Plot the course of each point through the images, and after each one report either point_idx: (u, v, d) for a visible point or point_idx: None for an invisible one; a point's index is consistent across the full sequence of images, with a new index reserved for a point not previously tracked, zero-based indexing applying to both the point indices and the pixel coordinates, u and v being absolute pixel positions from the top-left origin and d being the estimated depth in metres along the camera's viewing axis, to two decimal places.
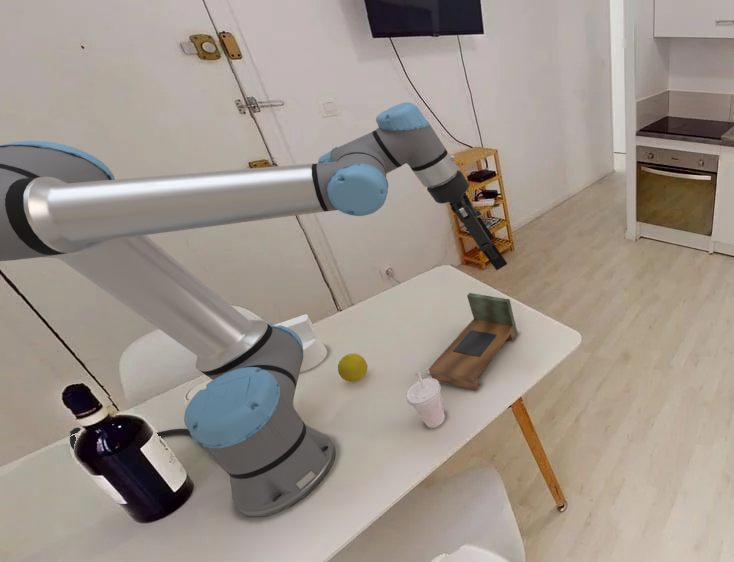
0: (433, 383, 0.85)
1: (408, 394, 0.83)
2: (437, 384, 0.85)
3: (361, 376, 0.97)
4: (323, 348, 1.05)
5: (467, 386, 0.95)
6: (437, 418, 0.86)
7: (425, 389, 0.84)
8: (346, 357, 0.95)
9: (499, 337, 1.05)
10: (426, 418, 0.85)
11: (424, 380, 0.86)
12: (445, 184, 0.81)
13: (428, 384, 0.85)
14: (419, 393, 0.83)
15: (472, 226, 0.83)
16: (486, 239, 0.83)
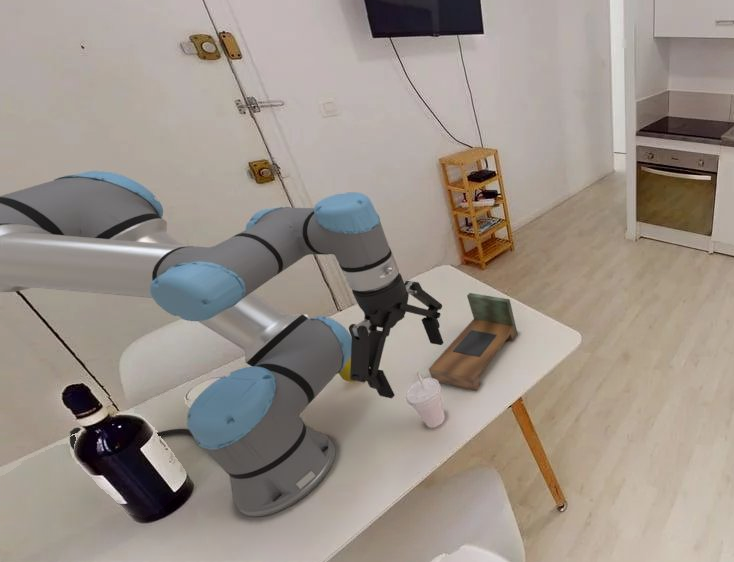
0: (433, 383, 0.85)
1: (408, 394, 0.83)
2: (437, 384, 0.85)
3: None
4: None
5: (467, 386, 0.95)
6: (437, 418, 0.86)
7: (425, 389, 0.84)
8: None
9: (499, 337, 1.05)
10: (426, 418, 0.85)
11: (424, 380, 0.86)
12: (361, 293, 0.68)
13: (428, 384, 0.85)
14: (419, 393, 0.83)
15: (357, 350, 0.68)
16: (360, 372, 0.68)
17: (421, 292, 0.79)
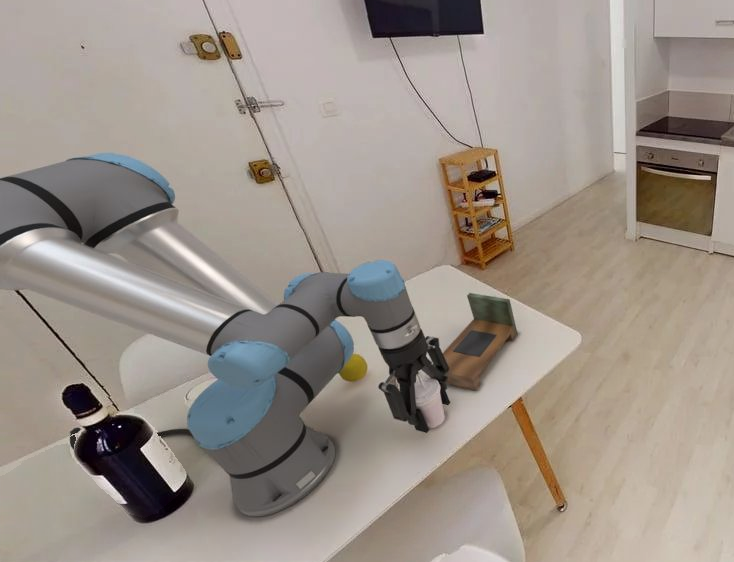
0: (433, 383, 0.85)
1: None
2: (437, 384, 0.85)
3: (361, 376, 0.97)
4: None
5: (467, 386, 0.95)
6: (437, 418, 0.86)
7: (425, 389, 0.84)
8: None
9: (499, 337, 1.05)
10: (426, 418, 0.85)
11: (424, 380, 0.86)
12: (387, 350, 0.74)
13: (428, 384, 0.85)
14: (419, 393, 0.83)
15: (392, 401, 0.76)
16: (400, 416, 0.78)
17: (437, 349, 0.85)
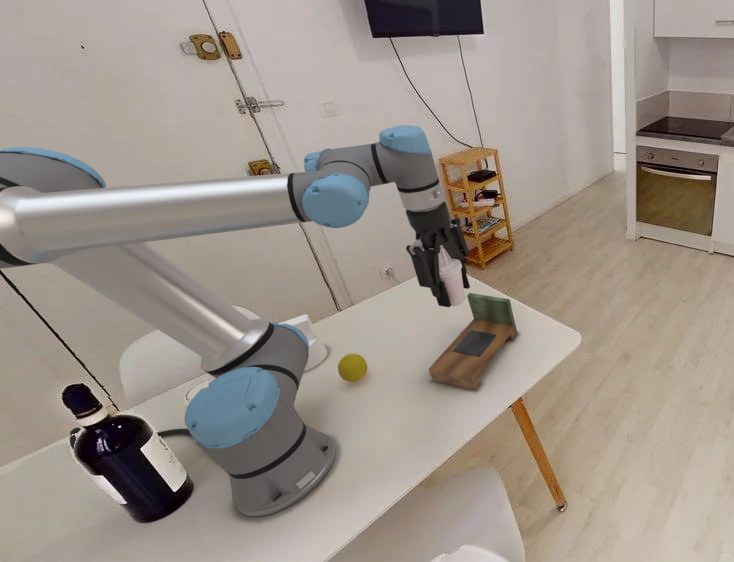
0: (455, 261, 0.90)
1: None
2: (459, 262, 0.90)
3: (361, 376, 0.97)
4: (323, 348, 1.05)
5: (467, 386, 0.95)
6: (458, 296, 0.91)
7: (448, 265, 0.89)
8: (346, 357, 0.95)
9: (499, 337, 1.05)
10: (449, 294, 0.90)
11: (446, 260, 0.91)
12: (414, 213, 0.79)
13: (450, 262, 0.90)
14: (442, 268, 0.88)
15: (418, 265, 0.81)
16: (426, 281, 0.83)
17: (459, 229, 0.90)
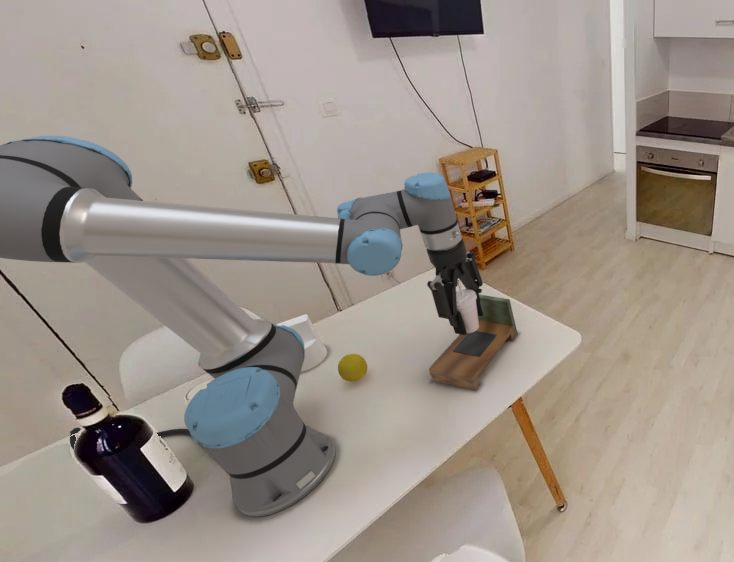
0: (470, 292, 0.97)
1: None
2: (474, 293, 0.97)
3: (361, 376, 0.97)
4: (323, 348, 1.05)
5: (467, 386, 0.95)
6: (473, 324, 0.98)
7: (464, 296, 0.96)
8: (346, 357, 0.95)
9: (499, 337, 1.05)
10: (464, 322, 0.97)
11: None
12: (434, 252, 0.86)
13: (466, 293, 0.97)
14: (459, 299, 0.95)
15: (438, 298, 0.88)
16: (445, 313, 0.90)
17: (473, 262, 0.97)
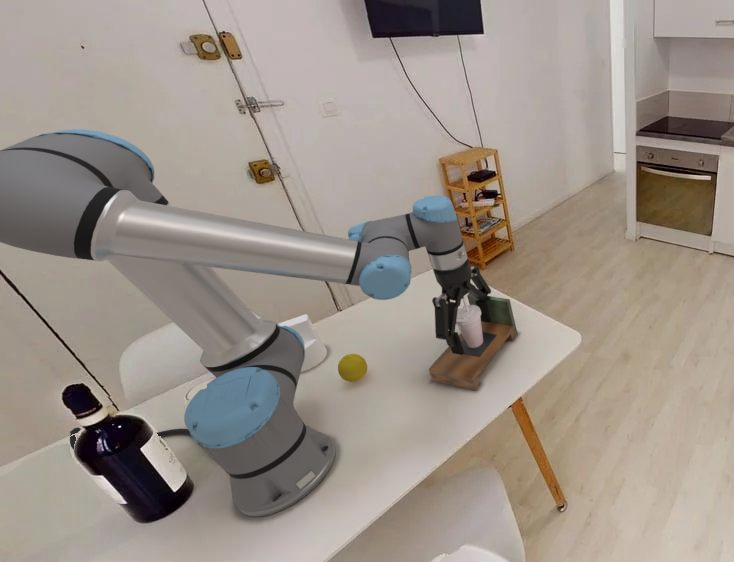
0: (475, 308, 1.00)
1: None
2: (478, 309, 0.99)
3: (361, 376, 0.97)
4: (323, 348, 1.05)
5: (467, 386, 0.95)
6: (478, 339, 1.01)
7: (469, 312, 0.98)
8: (346, 357, 0.95)
9: (499, 337, 1.05)
10: (469, 338, 0.99)
11: (467, 306, 1.00)
12: (441, 272, 0.88)
13: (471, 309, 0.99)
14: (464, 315, 0.97)
15: (439, 316, 0.89)
16: (443, 333, 0.90)
17: (479, 276, 1.00)
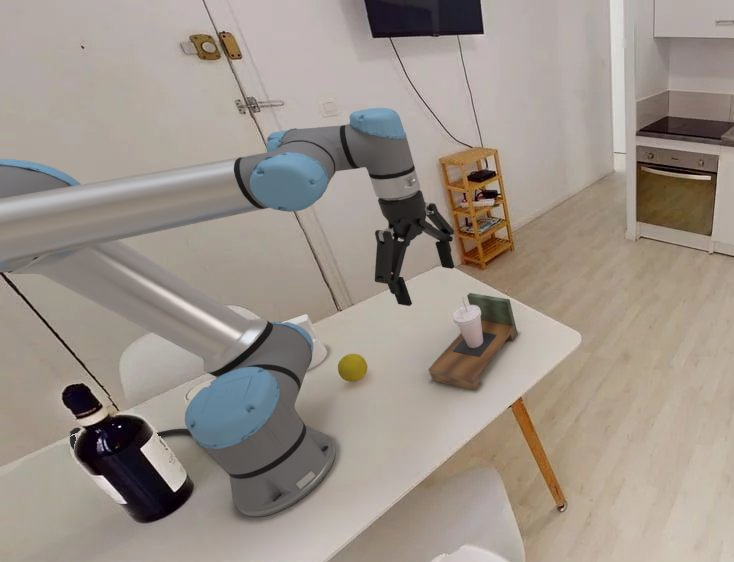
0: (475, 308, 1.00)
1: (454, 316, 0.97)
2: (478, 309, 0.99)
3: (361, 376, 0.97)
4: (323, 348, 1.05)
5: (467, 386, 0.95)
6: (478, 339, 1.01)
7: (468, 312, 0.98)
8: (346, 357, 0.95)
9: (499, 337, 1.05)
10: (469, 338, 0.99)
11: (467, 306, 1.00)
12: (387, 201, 0.75)
13: (471, 309, 0.99)
14: (464, 315, 0.97)
15: (381, 254, 0.75)
16: (384, 274, 0.75)
17: (437, 214, 0.86)
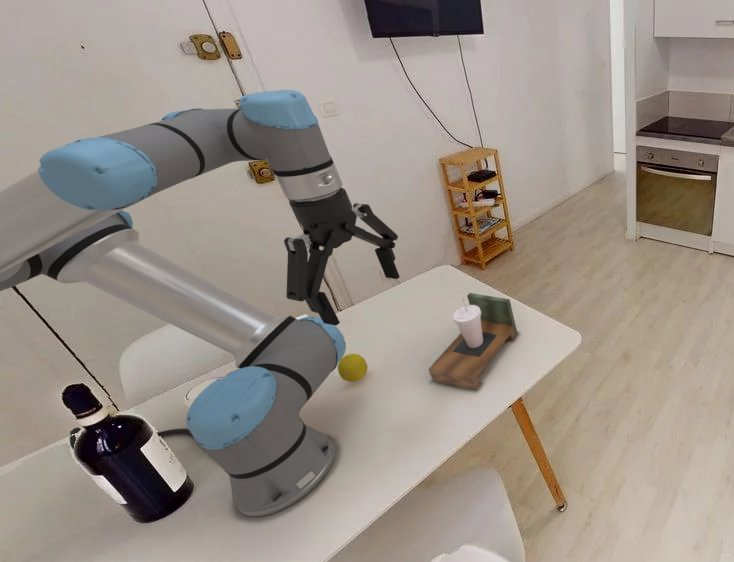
0: (475, 308, 1.00)
1: (454, 316, 0.97)
2: (478, 309, 0.99)
3: (361, 376, 0.97)
4: None
5: (467, 386, 0.95)
6: (478, 339, 1.01)
7: (468, 312, 0.98)
8: (346, 357, 0.95)
9: (499, 337, 1.05)
10: (469, 338, 0.99)
11: (467, 306, 1.00)
12: (298, 203, 0.62)
13: (471, 309, 0.99)
14: (464, 315, 0.97)
15: (293, 265, 0.63)
16: (296, 290, 0.63)
17: (372, 216, 0.74)
